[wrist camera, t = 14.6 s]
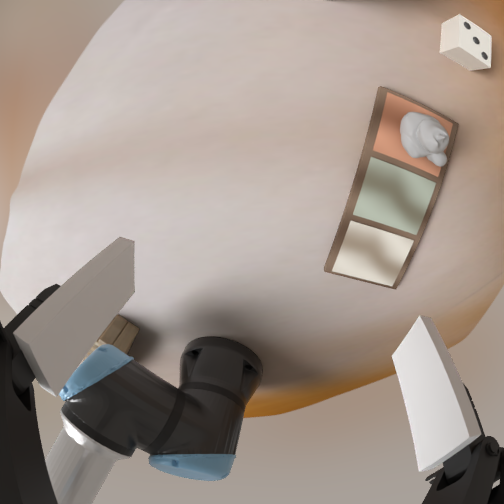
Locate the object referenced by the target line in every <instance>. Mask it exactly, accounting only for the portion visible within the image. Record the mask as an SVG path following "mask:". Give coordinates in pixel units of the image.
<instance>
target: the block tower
mask: <svg viewBox="0 0 504 504" xmlns="http://www.w3.org/2000/svg"><path fill="white" fill-rule="evenodd" d="M138 332H139V328H138V327H136V326H135V325H133V324H132V323H130V322H128V321H127V320H126V319H124V318H123V317H121V316H120V315H117V316H116V317H114V319H113V320H112V321H111V323H110V324H109V325H108V326H107V328H106V329H105V330H104V332H103V333H102V334H101V336H100V337H99V338H98V340H97V341H96V342H95V344H94V345H93V346H92V348H91V349H90V350H89V352H88V353H87V354H86V356H85V357H84V360H85V359H86V358H87V357H88V356H89V355H90V354H91V353H92V352H93V351H94V350H96V349H97V348H98V347H99V346H101V345H104V344H110V345H113V346H115V347H116V348H118V349H119V350H121V351H122V352H124V353H125V354H128V351H129V349H130V348H131V346H132V342H133V341H134V339H135V337H136V335H137V333H138ZM84 360H83V361H84Z"/></svg>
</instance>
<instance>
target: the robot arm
mask: <svg viewBox="0 0 504 504" xmlns="http://www.w3.org/2000/svg"><path fill="white" fill-rule="evenodd" d="M134 292H135V287H134V241H132V240H129V239H126V238H122V237H119V238H118V239H116V240H115V241H114V242H113V243H111V244H110V245H109V246H108V247H106V248H105V249H104V250H103V251H101V252H100V253H99V254H98V255H97V256H95V257H94V258H93V259H92V260H90V261H89V262H88V263H87V264H86V265H85V266H83V267H82V268H81V269H80V270H79V271H77V272H76V273H75V274H74V275H73V276H72V277H71V278H69V279H68V280H67V281H66V282H65V283H64V284H63V285H62V286H60V285H58V284H55V285H53V286H51V287H48V288H46V289H44V290H43V291H42V292H41V293H40V294H39V295H38V296H37V297H36V299H33V300H32V301H31V302H30V303H29V305H27V306H26V307H25V308H24V309H23V310H22V311H21V312H20V313H19V314H18V315H17V316H16V317H15V318H14V319H13V320H12V321H11V322H10V323H9V324H8V325H7V326H6V327H5V328H3V327H2V324H1V322H0V504H92V503H93V501H94V499H95V497H96V495H97V494H98V492H99V490H100V488H101V487H102V485H103V483H104V481H105V479H106V477H107V476H108V474H109V472H110V471H111V469H112V467H113V465H114V463H115V462H116V461H117V460H120V459H127V458H130V457H131V456H132V454H133V453H134V451H135V449H136V448H139V449H141V450H143V451H145V452H147V453H149V454H150V455H151V456H149V464H150V465H151V466H152V467H155V468H156V469H158V470H160V471H163V472H166V473H169V474H172V475H176V476H180V477H184V478H189V479H196V480H206V481H215V480H221V479H224V478H226V477H227V476H228V475H229V473H230V470H231V467H232V465H233V461H234V459H235V458H236V455H235V453H236V449H237V444H238V439H239V435H240V430H241V425H242V421H243V416H244V411H245V407H246V405H247V403H248V402H249V400H250V398H251V397H252V395H253V394H254V392H255V391H256V389H257V388H258V386H259V384H260V382H261V377H262V371H263V369H262V364H261V362H260V360H259V359H258V357H257V356H256V355H255V354H254V353H253V352H252V351H251V350H249V349H248V348H246V347H245V346H243V345H241V344H239V343H237V342H234V341H231V340H228V339H224V338H218V337H203V338H198V339H195V340H193V341H191V342H190V343H189V344H188V345H187V346H186V347H185V349H184V351H183V354H182V356H181V360H180V385H179V388H176V387H174V386H173V385H171V384H170V383H168V382H166V381H165V380H163V379H162V378H160V377H158V376H157V375H155V374H154V373H152V372H151V371H149V370H148V369H146V368H145V367H143V366H142V365H140V364H139V363H138V362H136V361H135V360H133V359H134V358H133V357H130V356H128V355H127V354H125V353H124V352H122V351H121V350H119V349H118V348H116V347H115V346H113V345H110V344H104V345H101V346H99V347H98V348H97V349H96V350H94V351H93V352H92V353H91V354H90V355H89V356H88V357H87V358H86V359H85V360H84V361H83V362H82V364H81V365H80V366H79V367H78V365H79V364H80V363H81V361H82V360H83V359H84V357H85V356H86V354H87V353H88V352H89V350H90V349H91V348H92V346H93V345H94V344H95V342H96V341H97V340H98V338H99V337H100V336H101V334H102V333H103V332H104V330H105V329H106V328H107V326H108V325H109V324H110V323H111V321H112V320H113V319H114V317H115V316H116V315H117V314H118V312H119V311H120V310H121V309H122V307H123V306H124V305H125V304H126V302H127V301H128V300H129V299H130V297H131V296H132V295H133V294H134ZM392 359H393V362H394V365H395V369H396V372H397V375H398V379H399V382H400V386H401V390H402V393H403V397H404V401H405V405H406V409H407V414H408V417H409V422H410V427H411V432H412V436H413V441H414V446H415V452H416V457H417V463H418V470H419V472H420V471H426V470H430V469H433V468H435V467H437V466H438V465H440V464H441V463H443V466H444V467H443V468H442V469H440V470H438V471H436V472H435V473H433V474H431V475H430V476H428V477H427V478H426V481H428V480H430V479H431V478H433V477H435V479H433V480H431V481H430V484H432V486H431V488H430V490H429V492H428V493H427V496H426V497H425V499H424V501H423V503H422V504H504V448H502V447H499V444H498V442H497V441H496V440H495V438H493V437H491V436H487V437H485V434H484V432H483V428H482V425H481V423H480V420H479V417H478V414H477V411H476V409H474V407H475V406H474V404H473V401H471V400H472V398H471V396H470V393H469V391H468V389H467V388H466V386H465V385H464V384H463V383H462V380H461V378H460V376H459V373H458V371H457V369H456V367H455V365H454V362H453V360H452V358H451V356H450V354H449V352H448V350H447V348H446V346H445V344H444V342H443V340H442V338H441V336H440V334H439V332H438V330H437V328H436V326H435V324H434V322H433V321H432V319H431V318H430V317H425V316H421V315H419V317H418V319H417V320H416V322H415V323H414V325H413V326H412V328H411V329H410V331H409V332H408V334H407V335H406V337H405V338H404V340H403V341H402V343H401V344H400V345H399V347H398V348H397V350H396V351H395V352H394V354H393V355H392ZM77 367H78V368H77ZM76 368H77V369H76ZM35 378H36V379H37V381H38V383H39V384H40V386H41V387H42V388H43V389H45V390H46V391H48V392H49V393H51V394H52V395H54V396H55V397H57V396H58V394H59V395H60V396H61V398H62V400H63V401H66V402H65V404H64V405H63V407H62V409H61V410H60V413H61V416H62V420H63V423H64V427H63V429H62V430H61V432H60V434H59V436H58V438H57V439H56V441H55V443H54V445H53V447H52V448H51V450H50V452H49V454H48V456H47V458H46V460H45V459H44V454H43V449H42V445H41V440H40V434H39V429H38V422H37V416H36V408H35V398H34V388H33V385H32V382H33V380H34V379H35ZM499 479H500V484H499V485H498V486H496V487H495V488H493V489H492V486H493V483H494V482H496V481H497V480H499Z"/></svg>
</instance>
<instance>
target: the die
mask: <svg viewBox="0 0 504 504" xmlns="http://www.w3.org/2000/svg"><path fill="white" fill-rule="evenodd" d="M440 54H442V55H444V56H446V57H448V58H450V59H451V60H453V61H455V62H456V63H458V64H460V65H461V66H463V67H465V68H466V69H468V70H469V71H472V70H479V69H486V68H491V35H489V34H488V33H487V32H485V31H484V30H483V29H481V28H480V27H478V26H477V25H475V24H474V23H472V22H471V21H469V20H468V19H466V18H465V17H463V16H461V15H460V14H459V15H457V16H455V17H453V18H451V19H449V20H447V21H445V22H444V23H442V30H441V44H440Z"/></svg>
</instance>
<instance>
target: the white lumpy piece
mask: <svg viewBox="0 0 504 504" xmlns="http://www.w3.org/2000/svg"><path fill="white" fill-rule="evenodd" d="M400 134H401V142H402V145H403V147H404V149H405V150H406V152H407V153H408V154H409V155H410V156H411V157H413V158H420V157H425V156H426V157H427V158H428V160H430V161H432V162H433V163H434V164H435V165H437V166H439V167H441V166H444V165H445V164H446V162H447V157H446V155H445V153H444V152H443V151H444V150H445V149H446V147H447V145H448V143H449V135H448V133H447V131H446V130H445V128H444V127H443V126H442V125H441V124H440V122H439V121H438V120H437V119H436V118H434V117H432V116H430V115H425V114H422V113H418V112H408V113H407V114H406V115H405V116H404V117H403V118H402V120H401V125H400Z"/></svg>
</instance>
